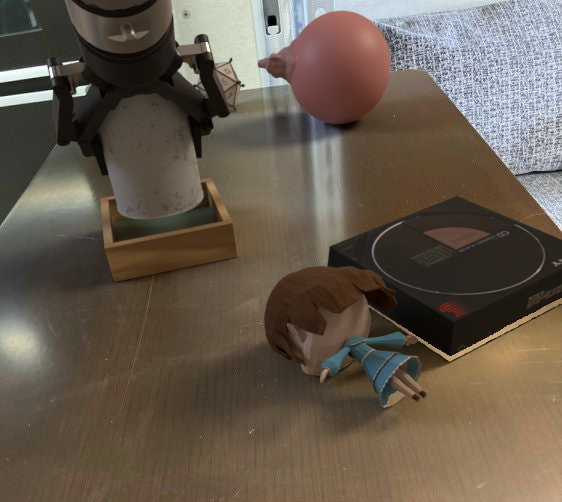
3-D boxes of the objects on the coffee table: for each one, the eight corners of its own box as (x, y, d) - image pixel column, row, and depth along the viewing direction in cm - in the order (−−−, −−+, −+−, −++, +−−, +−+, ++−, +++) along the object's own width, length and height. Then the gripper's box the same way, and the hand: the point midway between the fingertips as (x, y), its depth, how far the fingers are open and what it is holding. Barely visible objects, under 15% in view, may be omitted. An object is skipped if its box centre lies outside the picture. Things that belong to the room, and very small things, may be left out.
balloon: (269, 111, 107) (259, 8, 97) (387, 103, 104) (389, -3, 94) (258, 143, 95) (246, 30, 85) (391, 135, 92) (394, 17, 83)
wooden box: (109, 229, 76) (100, 198, 73) (216, 208, 78) (211, 177, 75) (114, 282, 66) (104, 248, 63) (237, 256, 68) (232, 223, 65)
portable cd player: (449, 228, 68) (452, 194, 66) (584, 292, 57) (594, 253, 54) (327, 279, 62) (325, 243, 60) (449, 362, 51) (453, 322, 48)
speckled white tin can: (174, 176, 74) (151, 64, 66) (220, 198, 68) (201, 76, 60) (102, 203, 69) (68, 86, 62) (144, 229, 63) (113, 102, 56)
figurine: (444, 414, 51) (319, 316, 58) (494, 320, 45) (349, 224, 53) (353, 466, 44) (224, 347, 51) (399, 362, 38) (246, 244, 45)
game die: (214, 131, 112) (180, 82, 110) (252, 104, 113) (219, 54, 111) (219, 118, 104) (182, 64, 102) (259, 89, 104) (224, 35, 102)
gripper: (-22, 83, 44) (54, 206, 66) (278, 36, 48) (256, 168, 70) (-43, -12, 45) (40, 141, 67) (254, -53, 48) (240, 106, 70)
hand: (149, 155), depth 68 cm, fingers closed on speckled white tin can, 9 cm apart
